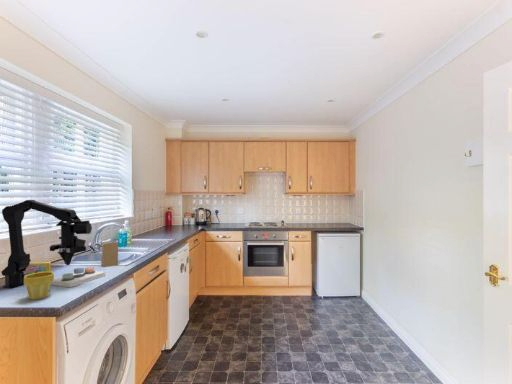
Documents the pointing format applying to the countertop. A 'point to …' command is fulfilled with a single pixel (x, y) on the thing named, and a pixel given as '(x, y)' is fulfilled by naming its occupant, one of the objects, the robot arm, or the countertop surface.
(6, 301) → the countertop surface
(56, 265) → the countertop surface
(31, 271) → the candy box
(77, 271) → the slate button
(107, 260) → the sandwich container
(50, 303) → the countertop surface
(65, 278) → the sage button
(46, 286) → the plant pot
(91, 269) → the terracotta button
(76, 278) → the button board
